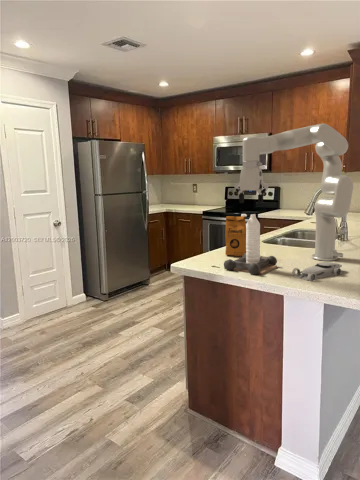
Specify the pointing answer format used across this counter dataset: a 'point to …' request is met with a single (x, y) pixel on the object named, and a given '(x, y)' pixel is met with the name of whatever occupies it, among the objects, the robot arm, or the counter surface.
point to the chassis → (251, 265)
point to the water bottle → (252, 239)
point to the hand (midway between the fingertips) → (250, 203)
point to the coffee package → (235, 236)
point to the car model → (318, 271)
